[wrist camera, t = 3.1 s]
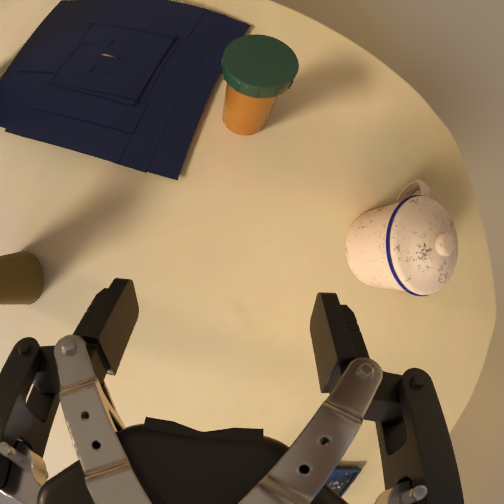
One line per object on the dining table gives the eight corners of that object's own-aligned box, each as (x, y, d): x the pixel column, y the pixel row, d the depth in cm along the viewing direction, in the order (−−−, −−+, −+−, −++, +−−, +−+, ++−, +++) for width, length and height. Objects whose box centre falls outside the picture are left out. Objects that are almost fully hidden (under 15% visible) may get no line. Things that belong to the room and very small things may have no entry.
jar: (215, 126, 28) (220, 72, 18) (231, 93, 29) (242, 35, 19) (258, 141, 29) (281, 93, 19) (271, 107, 29) (296, 54, 19)
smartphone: (268, 462, 27) (363, 469, 29) (267, 459, 28) (360, 466, 30) (246, 498, 27) (337, 502, 29) (245, 494, 28) (335, 499, 30)
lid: (210, 84, 19) (211, 72, 18) (237, 39, 20) (239, 27, 18) (281, 109, 20) (287, 98, 19) (300, 60, 21) (306, 50, 19)
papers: (71, 3, 24) (67, -11, 20) (245, 35, 31) (252, 20, 28) (-15, 132, 22) (-28, 123, 19) (176, 188, 30) (176, 180, 26)
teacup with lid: (393, 297, 31) (464, 311, 19) (331, 272, 30) (396, 280, 18) (417, 206, 32) (485, 190, 20) (361, 173, 31) (425, 139, 19)
